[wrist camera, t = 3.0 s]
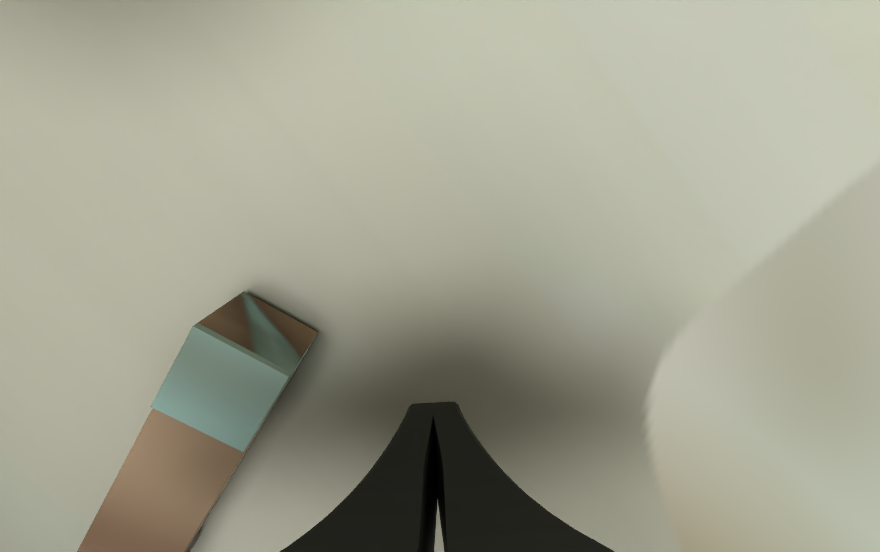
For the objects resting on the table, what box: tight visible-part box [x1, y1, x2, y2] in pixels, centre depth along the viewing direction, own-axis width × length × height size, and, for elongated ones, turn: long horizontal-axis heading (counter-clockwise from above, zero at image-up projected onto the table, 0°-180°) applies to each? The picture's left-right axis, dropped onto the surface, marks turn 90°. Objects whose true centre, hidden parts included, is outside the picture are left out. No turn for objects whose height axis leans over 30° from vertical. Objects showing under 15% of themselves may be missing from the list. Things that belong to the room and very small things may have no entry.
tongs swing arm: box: [77, 292, 318, 552], centre depth 12 cm, size 15×3×3 cm, turn 148°
